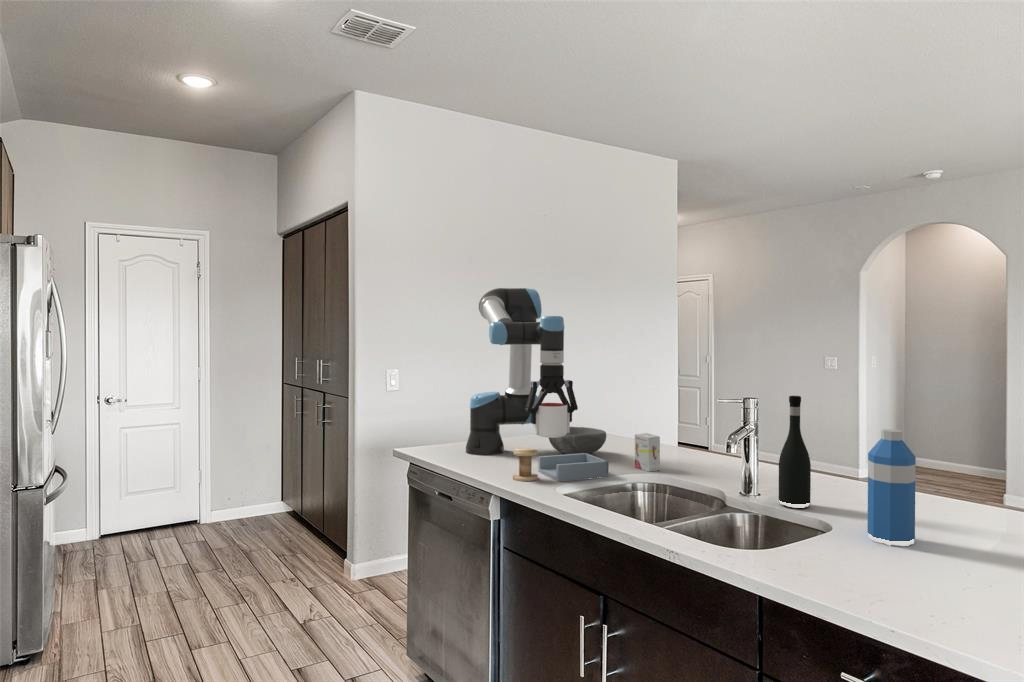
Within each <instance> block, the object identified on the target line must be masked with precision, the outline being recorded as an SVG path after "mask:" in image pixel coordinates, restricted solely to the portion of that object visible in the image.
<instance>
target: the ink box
mask: <svg viewBox="0 0 1024 682" xmlns="http://www.w3.org/2000/svg"><path fill="white" fill-rule="evenodd" d="M660 442H661V437H660V436H659V435H656V434H652V433H648V432H645V433H644V432H643V433H637V434H634V468H635V467H636V469H638V470H642V471H646V472H649V473H650V472H658V471H657V470H661V459H660V458H661V455H660V454H661V449H660V448H661V443H660Z"/></svg>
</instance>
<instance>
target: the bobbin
mask: <svg viewBox="0 0 1024 682" xmlns="http://www.w3.org/2000/svg"><path fill="white" fill-rule="evenodd" d="M512 454H513V455H514V456H518V460H519V461H518V472H517V473H514V474H513V475H512V479H513V480H514V481H516V482H533V481H536V480H537V481H538V479H539V476H538V474H537V473H532V464H533V463H532V461H533V459H532V458H533V456H537V455H538V454H539V451H538V450H537V449H535V448H516V449H513V450H512Z"/></svg>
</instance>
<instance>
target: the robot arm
mask: <svg viewBox="0 0 1024 682" xmlns="http://www.w3.org/2000/svg"><path fill="white" fill-rule="evenodd" d="M540 297H541V296H540V294H539V292H538V290H536V289H535V288H526V287H523V288H521V287H520V288H519V287H518V288H515V287H514V288H512V287H510V288H508V287H507V288H506V287H505V288H503V287H499V288H494V289H491V290H489V291H488V292H487V291H486V292H485V293H484V294H483V295H482V297H481V298H480V300H479V303H478V310H479V313H480V316H482V318H483V319H485V320H487V322H488V324H489V328H488V337H489V342H490V343H491V345H500V346H505V345H509V370H508V371H509V372H508V386H507V388H505V391H504V395H501V393H500V391H487V392H481V393H476V394H473V395H472V396H471V397H470V400H469V401H470V405H469V409H470V410H469V411H470V413H469V414H470V416H469V417H470V421H469V425H470V427H469V430H470V431H469V436H468V437H467V441H466V445H465V452H466V453H467V454H471V455H477V456H479V455H481V456H483V455H484V456H485V455H489V456H490V455H498V454H502V453H504V452H505V444H504V441H503V438H502V435H501V433H500V432H501V431H500V429H501V428H500V426H501V425H504V426H505V425H529V424H532V425H533V432H532V433H533V434H534V435H537V436H539V414H537V411H538V409H539V406H540V405H541V404H542V403H544V399H545V398H546V396H548V394H556V395H558V398H559V399H560V401H561V403H563V405H566V404H567V433H570V427H571V426H570V423H572V421H573V413H574V412H575V411H577V410H578V409H579V407H578V403H577V400H576V399H577V398H576V396H575V392H574V389H573V384H574V383H573V380H570V379H568V380H567V379H566V380H565V379H564V375H565V374H564V372H565V370H564V369H565V368H564V367H565V366H564V365H563V363H564V357H565V356H564V355H565V352H564V351H565V349H564V348H565V347H564V346H565V340H564V339H565V338H564V337H565V323H564V322H565V320H564V317H563V316H561V315H542V302H541V298H540ZM538 319H540V321H537V320H538ZM533 345H540V346H539V347H540V350H539V351H540V352H539V353H540V355H539V363H541V364H540V367H539V369H540V370H539V373H540V374H539V377H540V378H539V380H537V381H534V380H531V379H532V378H531V377H532V348H533ZM539 386H540V387H541V389H540V391H539V393H538V395H537V391H538V388H539ZM563 386H565V389H566V392H567V396H566V395H565V392H564V390H563ZM567 397H568V399H567Z"/></svg>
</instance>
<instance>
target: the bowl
mask: <svg viewBox="0 0 1024 682" xmlns="http://www.w3.org/2000/svg"><path fill="white" fill-rule="evenodd" d="M548 440H549V443H550V444H551V446H552V447H553V449H555V450H556V451H557V452H558V453H562V454H563V455H565V454H579V453H587V454H590V455H592V454H594V453H596V452H598V451H599V450H601V448H603V446H604V444H605V442H606V440H607V432H606V431H605V430H603V429H599V428H593V427H585V426H584V427H583V426H570V433H567V434H566V435H565V436H563V437H557V438H548Z"/></svg>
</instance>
